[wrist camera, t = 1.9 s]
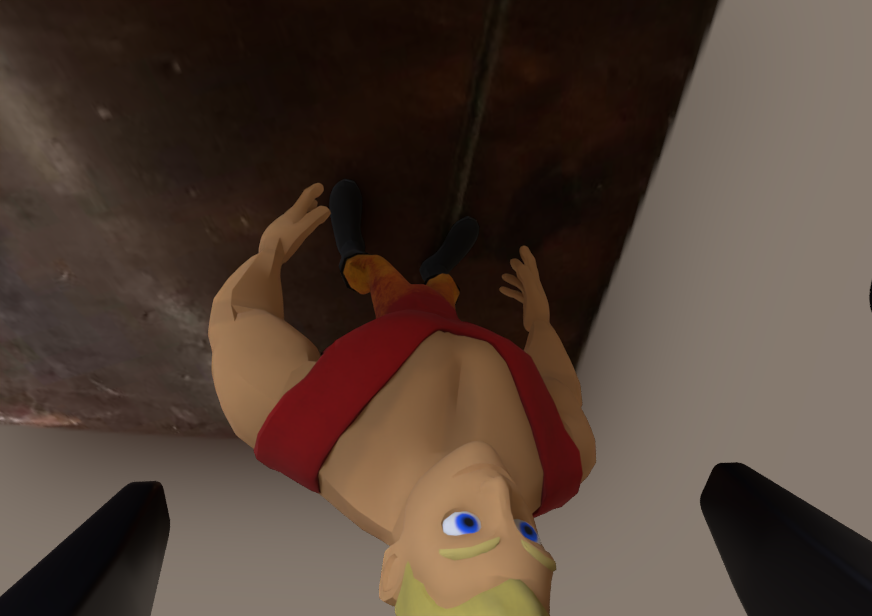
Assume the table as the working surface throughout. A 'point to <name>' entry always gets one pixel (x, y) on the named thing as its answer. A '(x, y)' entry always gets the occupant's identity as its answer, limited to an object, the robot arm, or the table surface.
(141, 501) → the robot arm
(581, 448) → the action figure
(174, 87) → the table surface
